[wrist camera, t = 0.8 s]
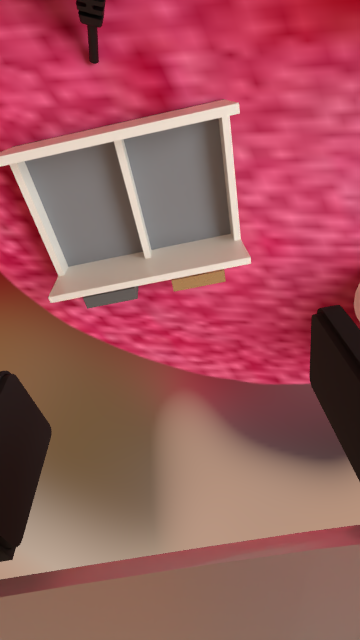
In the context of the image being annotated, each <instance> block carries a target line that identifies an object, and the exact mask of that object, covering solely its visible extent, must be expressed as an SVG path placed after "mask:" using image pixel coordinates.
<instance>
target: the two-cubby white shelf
mask: <svg viewBox="0 0 360 640" xmlns="http://www.w3.org/2000/svg"><path fill="white" fill-rule="evenodd" d="M239 113H240V110H239V103H237V102H233V101H229V100H224V99H222V100H218V101H214V102H209V103H205V104H200V105H196V106H191V107H187V108H182V109H178V110H174V111H169V112H165V113H160V114H156V115H151V116H147V117H143V118H138V119H134V120H129V121H125V122H120V123H116V124H111V125H107V126H103V127H98V128H94V129H89V130H85V131H80V132H76V133H72V134H67V135H63V136H58V137H54V138H49V139H45V140H40V141H36V142H32V143H27V144H23V145H18V146H14V147H11V148H9V149H7V150H4V151H2V152H0V167H1V166H5V165H10V167H11V170H12V172H13V174H14V176H15V179H16V181H17V183H18V185H19V188H20V190H21V192H22V194H23V197H24V199H25V201H26V204H27V206H28V208H29V210H30V213H31V215H32V217H33V219H34V222H35V224H36V226H37V228H38V231H39V233H40V235H41V238H42V240H43V242H44V244H45V247H46V249H47V251H48V253H49V256H50V258H51V260H52V262H53V265H54V267H55V269H56V272H57V274H58V278H57V280H56V282H55V284H54V286H53V288H52V290H51V292H50V294H49V296H48V298H49V300H50V302H51V303H54V302H59V301H64V300H69V299H74V298H79V297H84V296H89V295H94V294H99V293H104V292H109V291H115V290H120V289H125V288H130V287H135V286H140V285H145V284H150V283H155V282H160V281H165V280H170V279H175V278H180V277H185V276H190V275H195V274H200V273H206V272H211V271H216V270H221V269H226V268H231V267H236V266H241V265H246V264H251V257H250V255H249V253H248V252H247V250H246V248H245V246H244V244H243V243H242V241H241V237H240V226H239V215H238V203H237V192H236V181H235V170H234V159H233V148H232V137H231V126H230V115H235V114H239Z"/></svg>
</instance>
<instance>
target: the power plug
mask: <svg viewBox="0 0 360 640" xmlns="http://www.w3.org/2000/svg"><path fill="white" fill-rule="evenodd" d="M76 5H77V9H78V10H79V12H78V14H79V18H80V21H81V23H83V24H86V25H87V28H88V44H89V59H90V62H91V63H93V64H96V63H98V62H99V59H98V34H97V27H99V28H100V27H101V26H102V23H103V18H104V8H105V0H77V1H76Z"/></svg>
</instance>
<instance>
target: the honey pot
mask: <svg viewBox="0 0 360 640" xmlns="http://www.w3.org/2000/svg"><path fill="white" fill-rule="evenodd" d="M354 309H355V315H356V316H357V318H358V320H359V321H360V283H359V285H358V288H357V290H356V292H355V299H354Z"/></svg>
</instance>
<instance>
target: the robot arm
mask: <svg viewBox="0 0 360 640" xmlns="http://www.w3.org/2000/svg"><path fill="white" fill-rule="evenodd" d="M310 382H311V385H312V388H313V390H314V392H315V394H316V396H317V398H318V400H319V402H320V404H321V406H322V408H323V410H324V412H325V414H326V416H327V418H328V420H329V422H330V424H331V426H332V428H333V429H334V432H335V433H336V436H337V438H338V439H339V442H340V443H341V445H342V447H343V449H344V451H345V453H346V455H347V457H348V459H349V461H350V463H351V465H352V467H353V469H354V471H355V473H356V475H357V477H358V479H359V481H360V329H359V328H358V327H357V326H356V324H355V323H354V322H353V321H352V319H351V318H350V317H349V316H348V314H347V313H346V312H345V311H344V309H343V308H342V307H341V306H340V305H334V306H329V307H324V308H320V309H318V311H317V314H314V315H312V323H311V352H310ZM50 438H51V427H50V424H49V423H48V421H47V420H46V419H45V417H44V416H43V414H42V413H41V411H40V410H39V408H38V407H37V405H36V404H35V402H34V401H33V400H32V398H31V397H30V395H29V394H28V392H27V391H26V389H25V388H24V386H23V385H22V384H21V382H20V381H19V379H18V378H17V377H16V375H14V374H11V373H10V372H8V371H1V372H0V562H1V561H7V560H12V559H13V556H14V552H15V549H16V547H18V546H19V545H20V543H21V541H22V538H23V535H24V531H25V528H26V524H27V520H28V517H29V513H30V510H31V506H32V502H33V499H34V495H35V492H36V488H37V485H38V481H39V477H40V474H41V470H42V467H43V463H44V460H45V456H46V452H47V449H48V445H49V442H50ZM0 640H360V525H355V526H347V527H339V528H332V529H324V530H317V531H309V532H302V533H295V534H289V535H282V536H276V537H269V538H262V539H256V540H249V541H243V542H236V543H229V544H223V545H217V546H209V547H204V548H197V549H190V550H183V551H178V552H171V553H165V554H159V555H152V556H146V557H139V558H133V559H126V560H120V561H113V562H107V563H101V564H94V565H88V566H82V567H76V568H70V569H63V570H57V571H51V572H45V573H39V574H32V575H27V576H20V577H14V578H8V579H1V580H0Z"/></svg>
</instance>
